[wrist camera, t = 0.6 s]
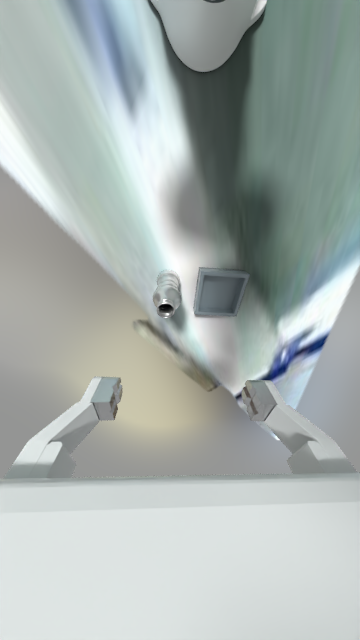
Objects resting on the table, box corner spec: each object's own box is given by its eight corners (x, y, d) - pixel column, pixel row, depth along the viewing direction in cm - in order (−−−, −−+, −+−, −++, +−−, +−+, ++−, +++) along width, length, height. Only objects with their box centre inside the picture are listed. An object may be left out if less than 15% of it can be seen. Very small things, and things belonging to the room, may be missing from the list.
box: (199, 267, 47) (201, 271, 44) (244, 270, 48) (249, 274, 44) (193, 308, 54) (194, 314, 51) (232, 310, 55) (236, 316, 52)
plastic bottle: (157, 267, 46) (147, 295, 30) (180, 268, 47) (183, 296, 30) (157, 287, 50) (149, 323, 33) (179, 288, 50) (181, 324, 34)
